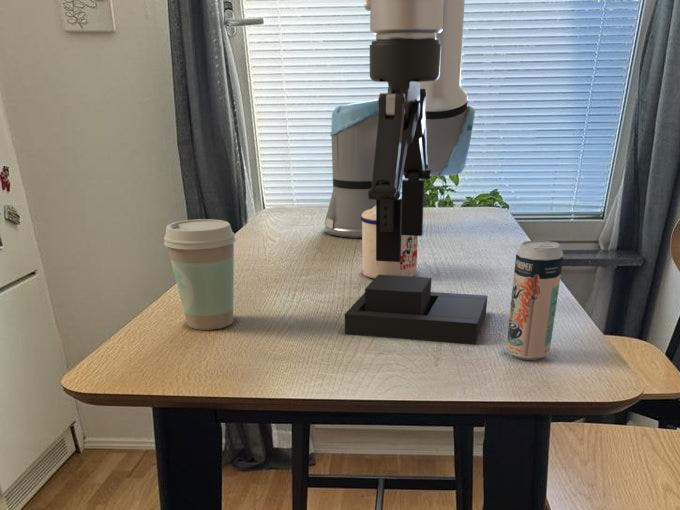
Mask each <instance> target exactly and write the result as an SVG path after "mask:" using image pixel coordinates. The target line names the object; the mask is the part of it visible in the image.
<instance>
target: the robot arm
mask: <svg viewBox="0 0 680 510" xmlns="http://www.w3.org/2000/svg"><path fill="white" fill-rule="evenodd" d="M465 3H466V1H465V0H365V2H364V9H365V10H366V11H367V12H369V32H370V33H371V34H372V35H375V40H372V41H371V44H369V78H370V80H371V81H373V82H376V83H387V87H388V88H387V92H380V93H379V96H378V99H372V100H367V101H366V100H365V101H359V102H354V103H348V104H342V105H338V106H337V107H335V108H334V109H333V111H332V114H331V128H330V129H331V131H330V137H331V163H332V164H331V165H332V166H331V167H332V168H331V169H332V193H331V197H330V199H329V200H330V201H329V204H328V207H327V212H326V215H325V220H324V231H325V233H327V234H329V235H331V236H335V237H341V238H352V239H353V238H355V239H362V220H361V215H362V213H363V212H364V211H366V210H369V209H372V208H373V207H375V206H376V261H388V262H400V261H401V235H410V236H418V237H422V236H423V233H424V231H423V229H424V228H423V227H424V226H423V225H424V206H425V205H424V202H425V201H424V200H425V180H431V179H432V178H431V177H442V176H457V175H459V174H461V173H462V172H463V171H464V169H465V167H466V164H467V159H468V155H469V150H470V144H471V140H472V133H473V126H474V122H475V114H476V108H475V107H474V106H473V105H470V104H469V105H468V103H469V101H468V100H469V95H468V93H467V92H466V91H465V90H464V89H463V88H462V87H461V77H462V75H461V74H462V57H463V56H462V55H463V39H464V18H465ZM403 177H404V179H403Z"/></svg>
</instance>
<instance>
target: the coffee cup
mask: <svg viewBox="0 0 680 510" xmlns="http://www.w3.org/2000/svg"><path fill="white" fill-rule="evenodd" d="M235 235H236V234H235V232H233V229H232V226H231V224H230V222H228V221H226V220H222V219H210V218H209V219H207V218H203V219H199V218H198V219H187V220H180V221H175V222H171V223H169V224H167V225H166V229H165V235H164V237H163V239H164V242H163V245H164V246H165V247H167V253H168V255H169V260H170V263H171V266H172V271H173V275H174V278H175V282H176V285H177V289H178V294H179V297H180V301H181V306H182V308H183V309H182V310H183V312H184V316H185V320H186V323H187V326H188V327H189V328H191V329H195V330H200V331H212V330H213V331H214V330H218V329H219V330H220V329H223V328H227V327H229V326H231V325H232V324H233V323H234V300H235V299H234V296H235V295H234V291H235V290H234V289H235V288H234V287H235V286H234V281H235V280H234V279H235V278H234V277H235V276H234V275H235V274H234V273H235V271H234V270H235V266H234V265H235V263H234V262H235V252H234V251H235V249H234V247H235V243H236V241H237V239H236V237H235Z"/></svg>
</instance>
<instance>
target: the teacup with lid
mask: <svg viewBox="0 0 680 510" xmlns="http://www.w3.org/2000/svg"><path fill="white" fill-rule="evenodd" d="M361 220H362V238H361V239H362V241H361V244H362V245H361V247H362V250H361V255H362V260H361V261H362V268H361V269H362V270H361V271H362V274H363V275H364V276H365V277H367V278H368V279H369V278H370V279H372V280H374V279H375V278H376V277H377V276H378V275H394V276H410V277H415V276H416V274H417V272H418V271H417V269H418V266H417V265H418V247H419V246H418V242H419V236H410V235H401V261H400V262H388V261H376V206H375V207H373V208H372V209H369V210H366V211H364V212H363V213H362V215H361Z"/></svg>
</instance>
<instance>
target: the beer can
mask: <svg viewBox="0 0 680 510" xmlns="http://www.w3.org/2000/svg"><path fill="white" fill-rule="evenodd" d="M563 260H564V252H563V249H562V245H561V243H558V242H556V241H552V240H551V241H550V240H538V239H536V240H527V241H524V242H522V243H521V244H520V246H519V247H518V249H517V251H516V254H515V262H514V272H513V280H512V282H513V283H512V289H511V290H512V291H511V299H510V308H509V316H508V326H507V337H506V343H505V344H506V345H505V350H506V352H507V353H508V354H509V355H510V356H512V357H513V358H514V359H515V358H516V359H518V360H523V361H536V360H541V359H543V358H545V357H547V356H548V355H549V354H550V351H551V345H552V337H553V332H554V325H555V324H554V323H555V317H556V311H557V304H558V297H559V289H560V283H561V275H562V268H563V263H564V261H563Z"/></svg>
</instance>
